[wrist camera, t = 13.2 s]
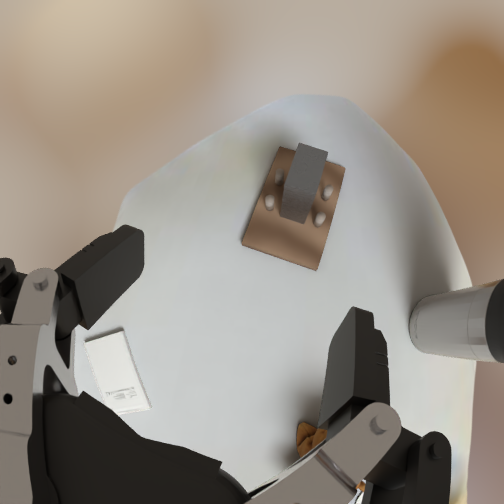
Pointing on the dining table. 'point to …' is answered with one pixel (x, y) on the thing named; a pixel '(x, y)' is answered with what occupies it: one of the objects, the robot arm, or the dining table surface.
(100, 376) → the external hard drive
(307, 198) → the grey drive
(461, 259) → the dining table surface
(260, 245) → the wooden peg stand
